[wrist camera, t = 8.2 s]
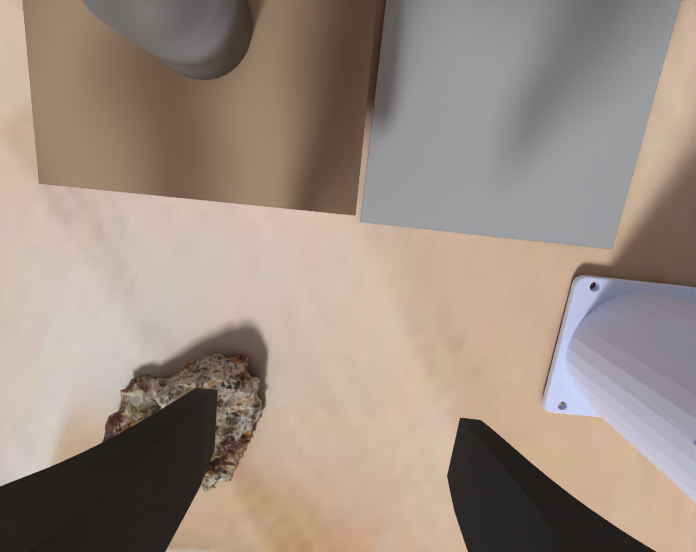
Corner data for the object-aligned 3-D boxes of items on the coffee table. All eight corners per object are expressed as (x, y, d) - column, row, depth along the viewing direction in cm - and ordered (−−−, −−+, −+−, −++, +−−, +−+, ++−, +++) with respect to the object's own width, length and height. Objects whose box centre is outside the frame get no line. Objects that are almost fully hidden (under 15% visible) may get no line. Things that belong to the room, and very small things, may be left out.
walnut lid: (392, -151, 12) (419, -351, 8) (354, 214, 15) (358, 226, 11) (24, -197, 12) (-177, -434, 7) (54, 183, 15) (-77, 183, 10)
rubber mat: (685, -41, 17) (693, -46, 16) (607, 248, 20) (612, 249, 19) (394, -79, 16) (395, -85, 16) (360, 221, 19) (360, 222, 19)
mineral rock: (180, 547, 22) (38, 498, 18) (192, 481, 26) (77, 430, 22) (310, 427, 20) (181, 350, 17) (301, 376, 24) (196, 305, 21)
